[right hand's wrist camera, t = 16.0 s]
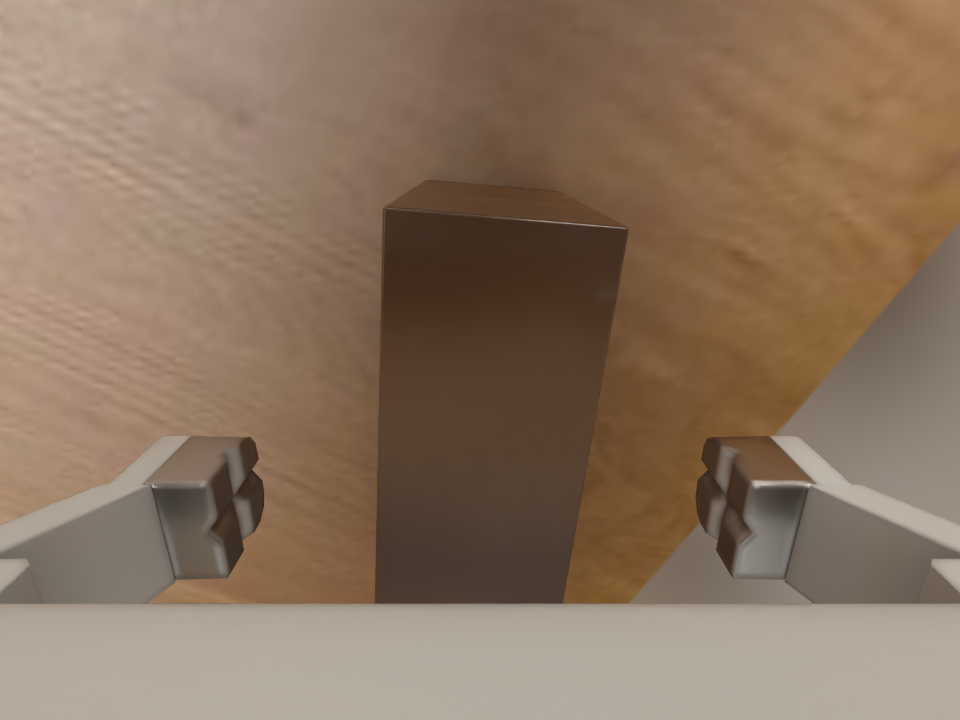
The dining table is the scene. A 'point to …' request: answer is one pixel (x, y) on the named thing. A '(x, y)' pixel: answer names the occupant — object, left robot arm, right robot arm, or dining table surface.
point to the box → (488, 389)
